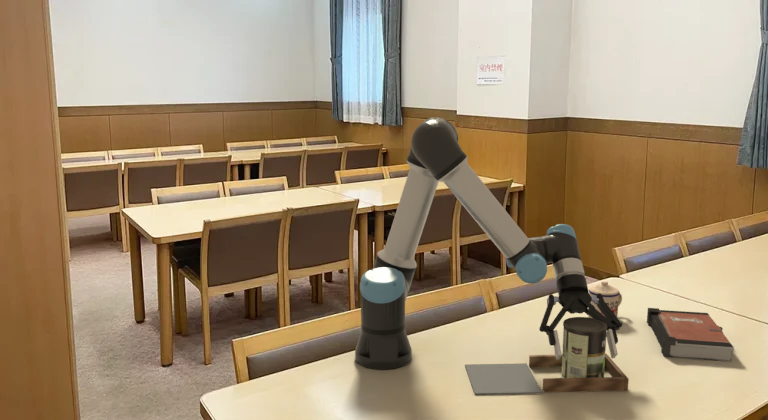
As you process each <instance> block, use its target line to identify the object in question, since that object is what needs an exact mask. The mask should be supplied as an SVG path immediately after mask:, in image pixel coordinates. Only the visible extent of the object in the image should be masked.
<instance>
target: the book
mask: <svg viewBox="0 0 768 420" xmlns="http://www.w3.org/2000/svg"><path fill="white" fill-rule="evenodd" d="M646 314H647V316H646V323H647V325H648V327H651V329H652V332H653V333H654V335H655V337H656V340H657V341H658V344H659V346H660V348H661V351H660V352H661V355H662V356H663V357H664V358H675V359H676V358H677V359H690V360H701V361H702V360H703V361H715V362H716V361H717V362H728V363H733V360H732V358H731V357H732V356H731V355H732V351H733V350H734V349H735V347H734V345H733V344H732V343H731V341H729V339H728V338H727V337H726V335H725V334H724V332H723V330H724V329H723V326H719V325H717V323H716V322H715V321H714V319H713V318H712V317H711V315H710V314H709V313H708V312H697V311H683V310H682V311H681V310H665V309H660V308H658V307H657V308H656V307H647V313H646Z"/></svg>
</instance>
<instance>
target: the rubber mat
mask: <svg viewBox="0 0 768 420" xmlns="http://www.w3.org/2000/svg"><path fill="white" fill-rule="evenodd" d="M464 367H465V370H466V372H467V373H466V374H467V376H468V378H469V382H470V384H471V388H472V391H473V394H474V395H475V396H481V395H482V396H483V395H484V396H487V395H489V396H490V395H491V396H493V395H539V394H540V395H541V394H542V395H543V393H544V392H543V389H541V386H540V385H539V383H538V381H537V380H536V378H535V376H534V374H533V372H532V370H531V368H530V367H529V364H527V362H526V363H478V364H475V363H473V364H471V363H470V364H469V363H468V364H464Z"/></svg>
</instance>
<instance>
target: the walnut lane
mask: <svg viewBox="0 0 768 420" xmlns="http://www.w3.org/2000/svg"><path fill="white" fill-rule="evenodd" d="M562 356H563V353H562ZM562 356H561V357H560V359H558V360H556V356H555V354H529V357H528V360H529V361H528V367H529V369H531V368H535V369H536V368H562ZM604 370H606V372H608V374H609V375H610V376H607V377H605V376H604V377H597V378H562V377H561V378H559V377H554V378H553V377H550V378H549V377H547V378H542V392H543V393H565V392H566V393H567V392H568V393H569V392H572V393H573V392H576V393H577V392H620V391H622V392H626V391H629V377H627V375H626V374H625V373H624V372H623V370H622V369H621V368H620V367H619V366H618V365H617V363H615V361H614V360H613V358H611V356H609V354H608V353H605V368H604Z"/></svg>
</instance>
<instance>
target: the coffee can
mask: <svg viewBox="0 0 768 420" xmlns="http://www.w3.org/2000/svg"><path fill="white" fill-rule="evenodd" d="M562 323H563V324H562V326H563V333H562V334H563V335H562V339H563V340H562V354H563V356H562V367H561V374H560V377H561V378H597V377H605V354H606V349H607V348H606V346H607V337H606V332H607V325H606V323H604V322H602V321H600V320H597V319H593V318H589V316H588V317H586V316H574V317H569V318H566V319H564V320H563V322H562Z"/></svg>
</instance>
